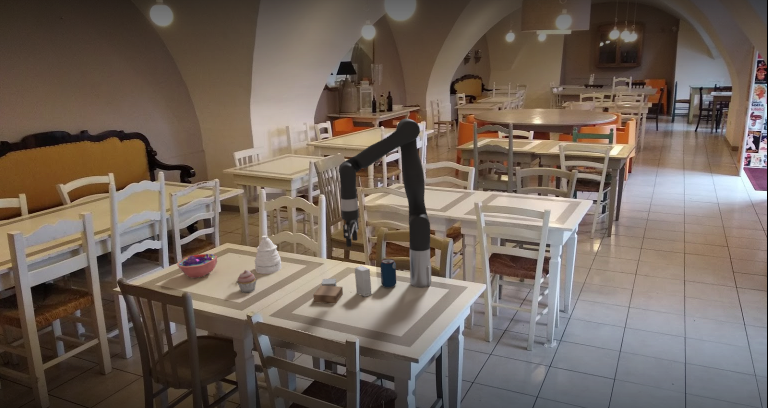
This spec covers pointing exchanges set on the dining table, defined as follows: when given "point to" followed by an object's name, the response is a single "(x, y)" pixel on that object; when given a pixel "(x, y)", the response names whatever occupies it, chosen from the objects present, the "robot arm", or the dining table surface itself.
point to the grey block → (329, 282)
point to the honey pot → (267, 257)
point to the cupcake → (246, 281)
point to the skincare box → (363, 281)
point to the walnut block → (328, 294)
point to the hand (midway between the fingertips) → (352, 243)
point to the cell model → (198, 265)
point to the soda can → (388, 273)
